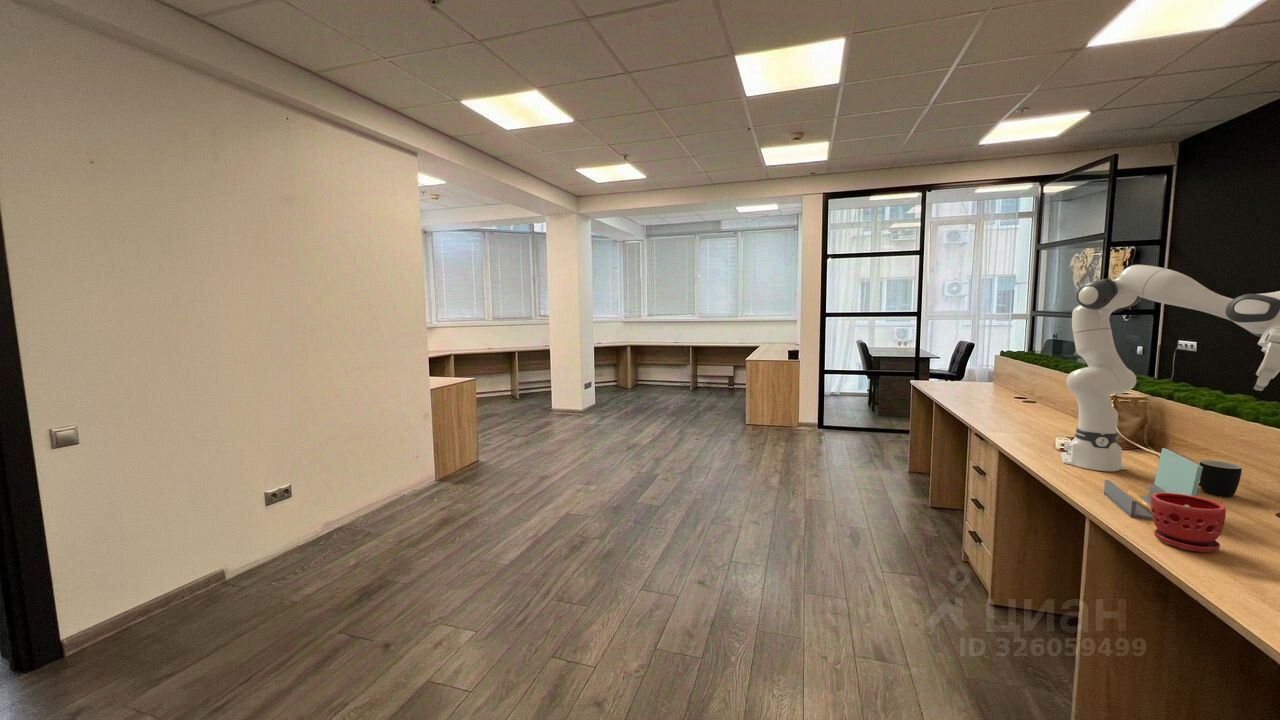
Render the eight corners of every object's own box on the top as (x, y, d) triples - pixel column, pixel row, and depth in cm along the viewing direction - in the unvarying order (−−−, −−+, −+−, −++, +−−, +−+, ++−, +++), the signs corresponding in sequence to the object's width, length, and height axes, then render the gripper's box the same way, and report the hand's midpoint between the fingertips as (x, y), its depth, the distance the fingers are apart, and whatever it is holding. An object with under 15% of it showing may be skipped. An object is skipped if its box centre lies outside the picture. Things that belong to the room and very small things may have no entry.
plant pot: (1219, 544, 130) (1224, 499, 129) (1223, 561, 121) (1228, 514, 120) (1148, 528, 139) (1152, 487, 138) (1146, 543, 130) (1151, 499, 129)
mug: (1234, 493, 164) (1238, 463, 163) (1241, 501, 157) (1245, 470, 156) (1181, 485, 172) (1184, 456, 171) (1186, 492, 165) (1189, 463, 164)
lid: (1162, 448, 157) (1167, 448, 156) (1154, 484, 159) (1159, 485, 158) (1198, 466, 139) (1204, 467, 139) (1188, 506, 141) (1194, 507, 140)
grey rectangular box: (1103, 494, 164) (1104, 479, 164) (1152, 500, 159) (1153, 485, 159) (1130, 517, 147) (1132, 500, 146) (1186, 524, 141) (1188, 507, 141)
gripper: (1263, 346, 151) (1240, 388, 153) (1270, 333, 137) (1246, 379, 139) (1295, 352, 146) (1272, 395, 148) (1307, 339, 133) (1281, 387, 134)
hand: (1259, 387), depth 143 cm, fingers open, 8 cm apart
